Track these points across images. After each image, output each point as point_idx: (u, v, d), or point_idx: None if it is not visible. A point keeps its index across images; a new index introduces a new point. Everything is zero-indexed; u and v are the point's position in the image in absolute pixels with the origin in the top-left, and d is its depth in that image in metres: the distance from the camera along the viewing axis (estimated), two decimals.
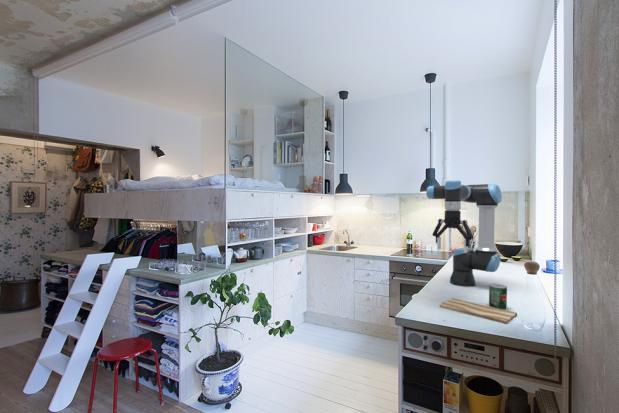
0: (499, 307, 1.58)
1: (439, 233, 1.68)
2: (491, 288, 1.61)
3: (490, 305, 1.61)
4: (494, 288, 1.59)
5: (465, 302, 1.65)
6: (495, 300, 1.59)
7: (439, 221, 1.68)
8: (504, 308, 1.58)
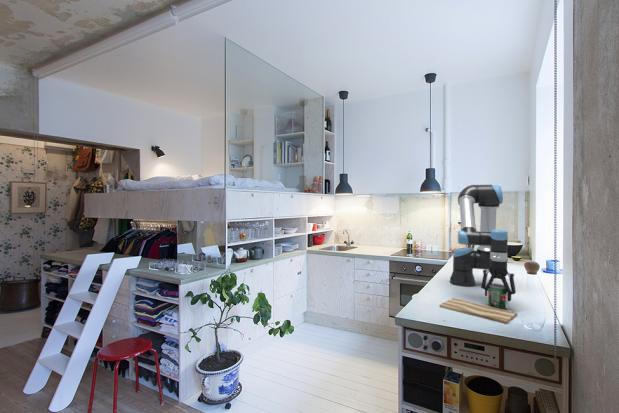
0: (499, 307, 1.58)
1: (488, 285, 1.64)
2: (491, 288, 1.61)
3: (490, 305, 1.61)
4: (494, 288, 1.59)
5: (465, 302, 1.65)
6: (495, 300, 1.59)
7: (484, 272, 1.65)
8: (504, 308, 1.58)
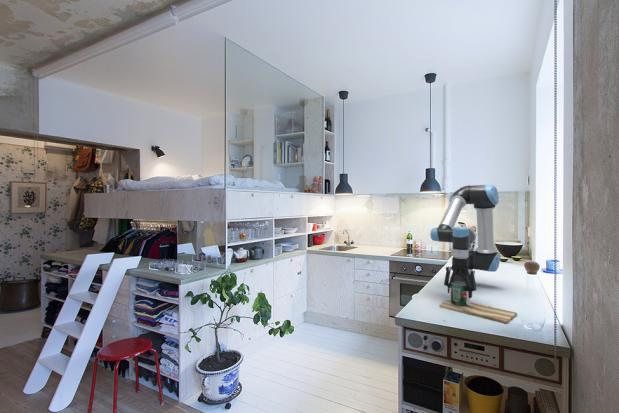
0: (460, 304, 1.58)
1: (450, 282, 1.64)
2: (453, 285, 1.61)
3: (452, 302, 1.61)
4: (455, 285, 1.59)
5: None
6: (456, 297, 1.59)
7: (447, 269, 1.65)
8: (465, 305, 1.58)
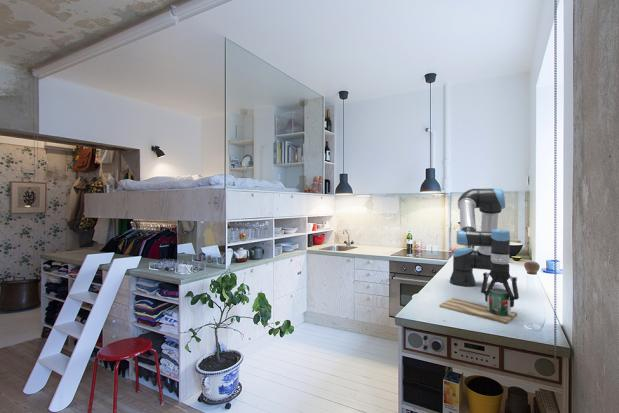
0: (501, 314, 1.45)
1: (488, 290, 1.51)
2: (492, 293, 1.48)
3: (491, 311, 1.48)
4: (495, 293, 1.46)
5: (465, 302, 1.65)
6: (496, 306, 1.46)
7: (484, 275, 1.52)
8: (506, 315, 1.45)
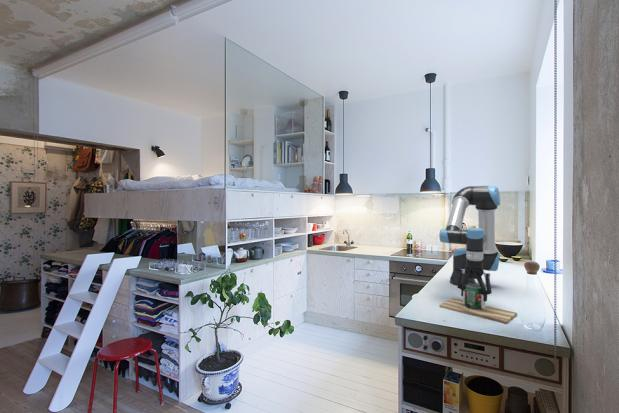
0: (475, 307, 1.53)
1: (464, 285, 1.59)
2: (467, 288, 1.56)
3: (466, 305, 1.57)
4: (470, 288, 1.54)
5: None
6: (470, 300, 1.54)
7: (460, 272, 1.60)
8: (480, 308, 1.53)
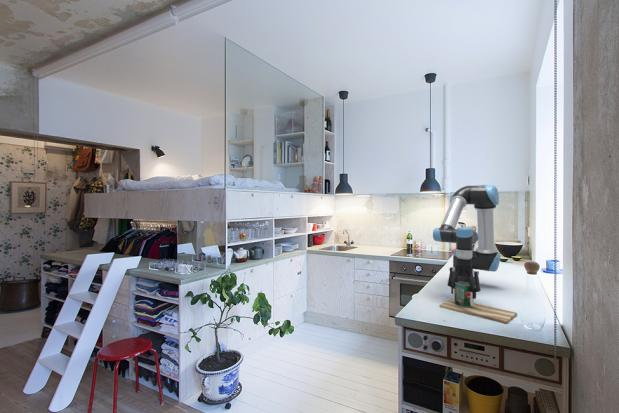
0: (464, 305, 1.57)
1: (454, 283, 1.62)
2: (456, 285, 1.60)
3: (455, 303, 1.60)
4: (459, 285, 1.58)
5: None
6: (460, 298, 1.58)
7: (450, 270, 1.64)
8: (469, 306, 1.57)
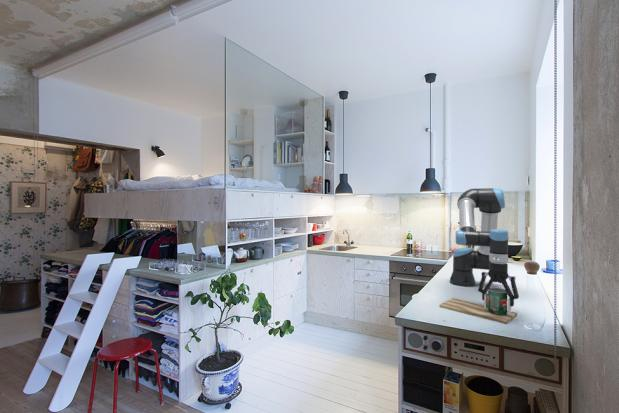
0: (499, 313, 1.45)
1: (486, 289, 1.52)
2: (490, 292, 1.48)
3: (489, 311, 1.49)
4: (493, 293, 1.47)
5: (465, 302, 1.65)
6: (494, 306, 1.46)
7: (483, 275, 1.52)
8: (504, 314, 1.45)
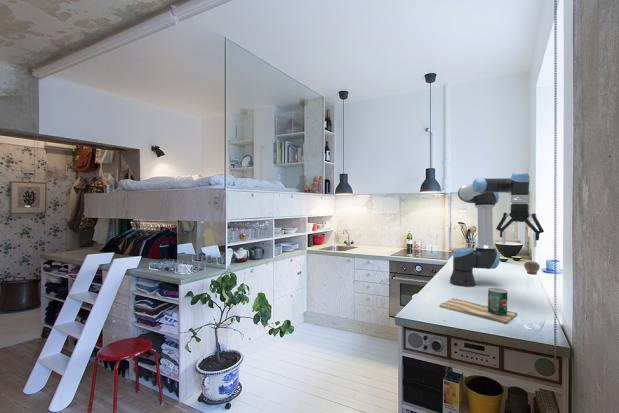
0: (499, 313, 1.45)
1: (504, 227, 1.64)
2: (490, 292, 1.48)
3: (489, 311, 1.49)
4: (493, 293, 1.47)
5: (465, 302, 1.65)
6: (494, 306, 1.46)
7: (504, 215, 1.64)
8: (504, 314, 1.45)
